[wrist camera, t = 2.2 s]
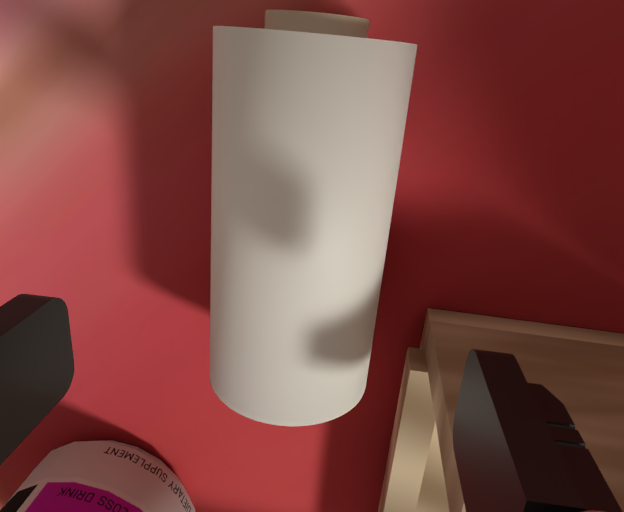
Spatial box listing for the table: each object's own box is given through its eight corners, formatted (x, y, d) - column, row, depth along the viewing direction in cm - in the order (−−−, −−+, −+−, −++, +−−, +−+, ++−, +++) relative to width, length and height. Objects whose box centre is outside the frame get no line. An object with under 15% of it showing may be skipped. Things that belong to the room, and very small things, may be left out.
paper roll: (237, 13, 16) (185, -4, 11) (409, 28, 16) (435, 18, 11) (229, 335, 21) (189, 427, 16) (362, 350, 21) (366, 448, 16)
